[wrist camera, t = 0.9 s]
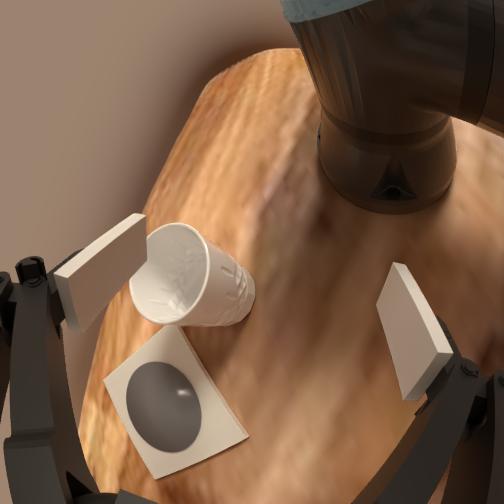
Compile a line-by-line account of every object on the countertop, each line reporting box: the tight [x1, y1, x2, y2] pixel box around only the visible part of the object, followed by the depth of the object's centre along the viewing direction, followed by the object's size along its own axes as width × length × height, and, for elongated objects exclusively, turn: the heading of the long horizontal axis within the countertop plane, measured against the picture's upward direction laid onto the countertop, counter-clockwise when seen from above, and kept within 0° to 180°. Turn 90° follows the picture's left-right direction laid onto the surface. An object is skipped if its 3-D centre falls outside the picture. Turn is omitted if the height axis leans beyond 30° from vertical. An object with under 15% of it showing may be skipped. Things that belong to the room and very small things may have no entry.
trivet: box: [103, 325, 249, 479], centre depth 28 cm, size 15×15×1 cm
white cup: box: [129, 223, 256, 327], centre depth 26 cm, size 8×8×10 cm
